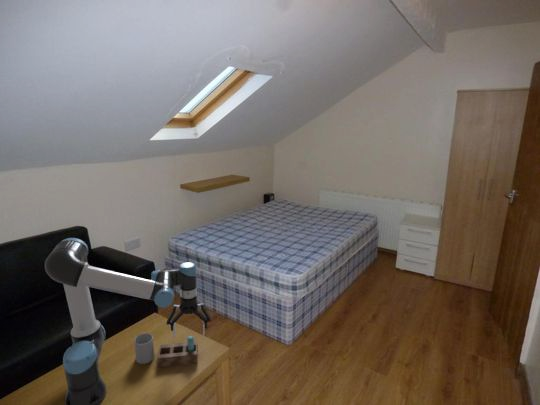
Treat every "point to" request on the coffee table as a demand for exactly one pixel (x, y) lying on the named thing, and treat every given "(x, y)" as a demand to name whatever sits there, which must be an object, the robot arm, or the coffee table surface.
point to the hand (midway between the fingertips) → (189, 334)
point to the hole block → (177, 354)
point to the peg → (190, 343)
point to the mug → (144, 348)
